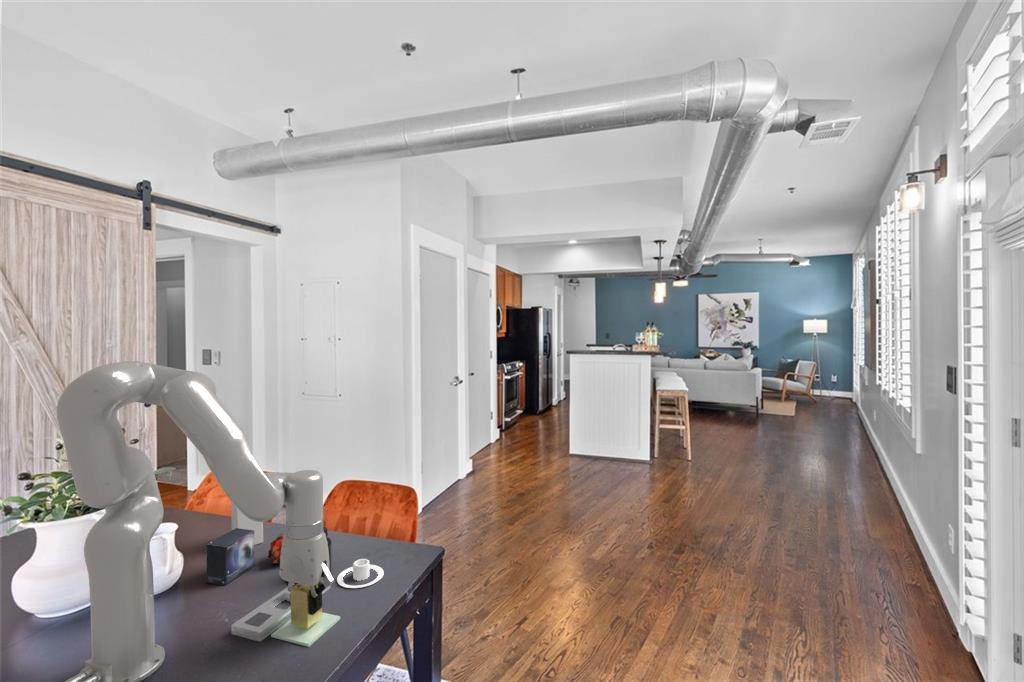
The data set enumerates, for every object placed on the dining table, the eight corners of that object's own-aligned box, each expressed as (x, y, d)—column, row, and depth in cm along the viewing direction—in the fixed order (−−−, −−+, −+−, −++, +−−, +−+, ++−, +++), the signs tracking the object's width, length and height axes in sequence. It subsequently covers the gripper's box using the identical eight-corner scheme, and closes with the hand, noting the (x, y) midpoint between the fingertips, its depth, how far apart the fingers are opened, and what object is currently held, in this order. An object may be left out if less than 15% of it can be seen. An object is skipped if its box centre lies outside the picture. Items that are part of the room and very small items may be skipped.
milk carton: (231, 542, 148) (230, 481, 147) (256, 535, 153) (255, 476, 152) (237, 550, 143) (236, 487, 142) (263, 542, 147) (262, 482, 147)
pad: (308, 646, 99) (308, 644, 99) (271, 637, 103) (271, 634, 103) (340, 619, 109) (340, 616, 109) (305, 610, 112) (305, 608, 112)
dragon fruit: (306, 555, 143) (273, 580, 132) (287, 536, 144) (253, 559, 133) (316, 537, 140) (283, 561, 129) (296, 517, 141) (262, 540, 130)
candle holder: (336, 594, 120) (335, 577, 120) (337, 570, 131) (337, 555, 131) (385, 586, 123) (385, 570, 123) (382, 564, 135) (382, 549, 135)
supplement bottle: (305, 569, 131) (304, 526, 131) (331, 565, 134) (331, 522, 133) (304, 582, 125) (304, 537, 124) (332, 577, 127) (331, 532, 127)
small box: (226, 586, 123) (225, 546, 122) (205, 583, 124) (204, 544, 124) (256, 566, 133) (255, 529, 133) (236, 563, 134) (235, 527, 134)
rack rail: (260, 641, 101) (259, 632, 101) (231, 634, 104) (231, 624, 103) (330, 587, 122) (330, 579, 122) (305, 582, 124) (305, 574, 124)
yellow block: (307, 628, 103) (307, 592, 103) (291, 624, 104) (290, 588, 104) (322, 616, 107) (321, 581, 107) (306, 612, 109) (305, 578, 108)
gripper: (261, 529, 104) (263, 611, 105) (324, 540, 99) (326, 626, 99) (287, 516, 111) (289, 593, 112) (348, 526, 106) (349, 606, 106)
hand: (306, 608), depth 106 cm, fingers closed on yellow block, 4 cm apart
